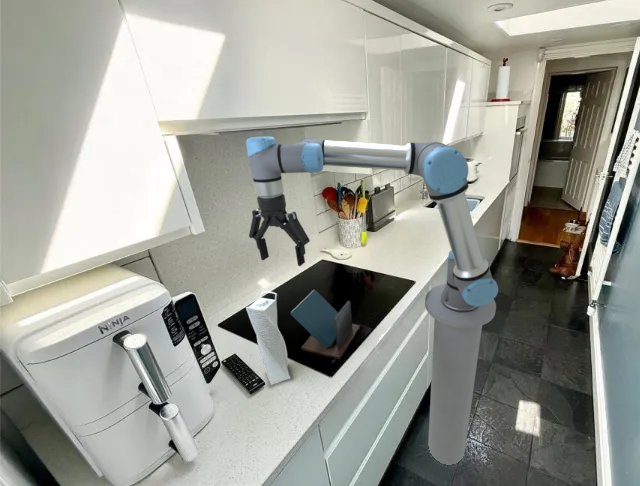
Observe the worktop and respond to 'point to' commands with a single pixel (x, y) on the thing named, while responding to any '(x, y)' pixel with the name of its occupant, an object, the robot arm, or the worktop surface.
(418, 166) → the robot arm
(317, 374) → the worktop surface
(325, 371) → the worktop surface
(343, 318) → the book rest
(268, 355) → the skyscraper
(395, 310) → the worktop surface
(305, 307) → the book
